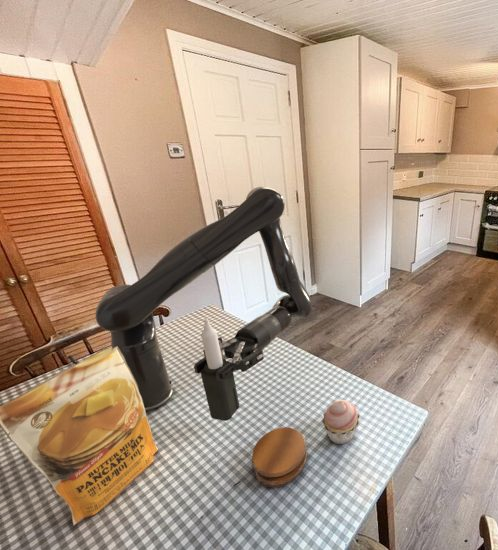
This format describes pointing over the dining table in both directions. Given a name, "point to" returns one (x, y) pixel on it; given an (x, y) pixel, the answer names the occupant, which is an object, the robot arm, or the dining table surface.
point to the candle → (217, 392)
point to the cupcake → (341, 421)
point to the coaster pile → (279, 457)
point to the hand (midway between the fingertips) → (206, 373)
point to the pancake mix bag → (84, 431)
